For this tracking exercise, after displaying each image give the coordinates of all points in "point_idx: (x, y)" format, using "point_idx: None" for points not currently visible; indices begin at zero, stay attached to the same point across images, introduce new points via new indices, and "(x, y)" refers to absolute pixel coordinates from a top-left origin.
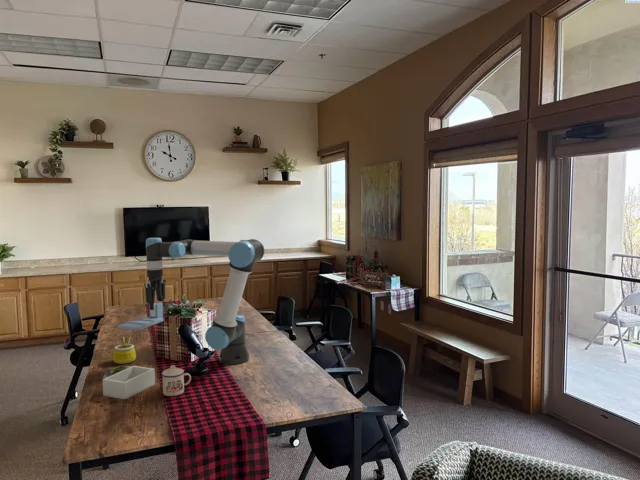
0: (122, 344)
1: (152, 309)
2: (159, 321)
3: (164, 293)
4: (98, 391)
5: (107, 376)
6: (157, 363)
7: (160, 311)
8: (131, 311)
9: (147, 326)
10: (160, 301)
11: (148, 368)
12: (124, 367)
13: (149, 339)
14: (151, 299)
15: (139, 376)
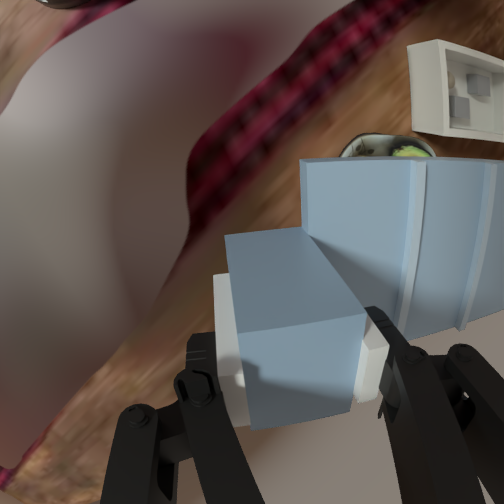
0: None
1: (375, 309)
2: (358, 158)
3: (123, 486)
4: None
5: None
6: (243, 182)
7: (273, 266)
8: (35, 496)
9: (471, 158)
10: (231, 386)
11: (444, 61)
12: None
13: (81, 395)
14: (470, 380)
15: (487, 55)
